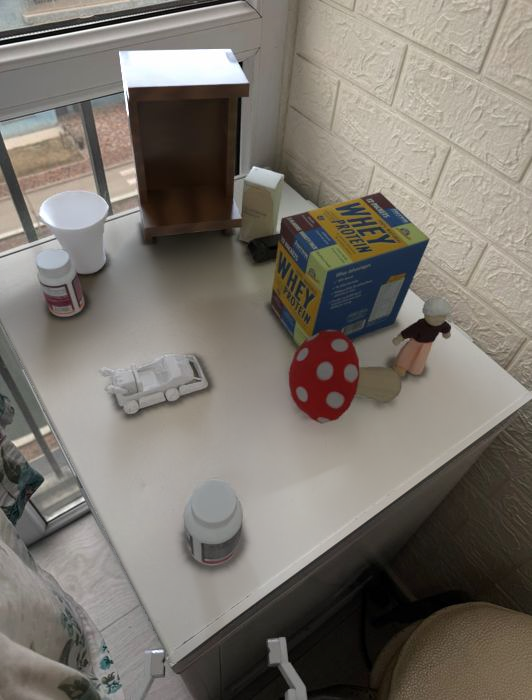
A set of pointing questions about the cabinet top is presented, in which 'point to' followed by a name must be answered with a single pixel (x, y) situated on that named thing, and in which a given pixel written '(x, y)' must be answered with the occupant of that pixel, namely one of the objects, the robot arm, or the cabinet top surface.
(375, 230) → the protein box
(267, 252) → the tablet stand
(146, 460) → the cabinet top surface
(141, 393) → the toy car
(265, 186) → the box
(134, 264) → the cabinet top surface
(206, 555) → the pill bottle
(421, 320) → the grandmother figurine
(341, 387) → the decorative mushroom
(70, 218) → the cup
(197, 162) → the shelf
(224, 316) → the cabinet top surface
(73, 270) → the pill bottle
